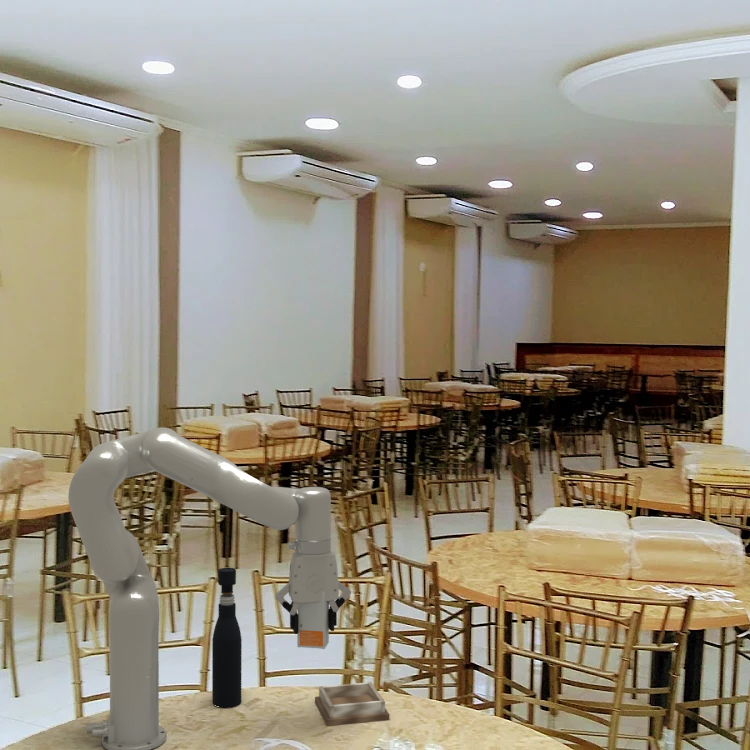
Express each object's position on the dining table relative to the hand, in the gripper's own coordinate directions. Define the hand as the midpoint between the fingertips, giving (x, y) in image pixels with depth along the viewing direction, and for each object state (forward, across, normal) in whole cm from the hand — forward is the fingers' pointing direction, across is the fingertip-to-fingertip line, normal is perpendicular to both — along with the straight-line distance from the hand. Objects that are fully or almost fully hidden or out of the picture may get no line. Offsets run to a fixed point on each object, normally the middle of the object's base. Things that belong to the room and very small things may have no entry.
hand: (313, 630), depth 196 cm
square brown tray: (+20, +9, +5) cm, 23 cm away
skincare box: (+4, 0, 0) cm, 4 cm away
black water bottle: (+20, -17, +16) cm, 31 cm away
